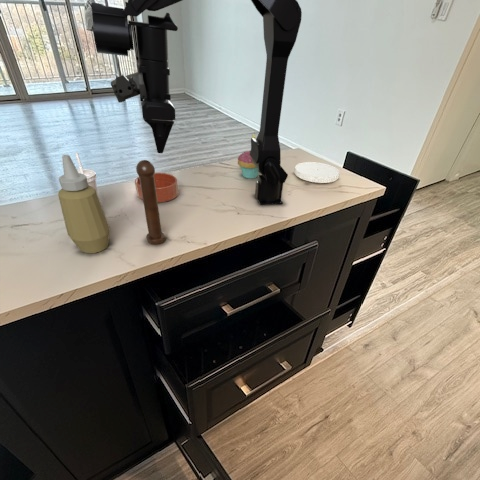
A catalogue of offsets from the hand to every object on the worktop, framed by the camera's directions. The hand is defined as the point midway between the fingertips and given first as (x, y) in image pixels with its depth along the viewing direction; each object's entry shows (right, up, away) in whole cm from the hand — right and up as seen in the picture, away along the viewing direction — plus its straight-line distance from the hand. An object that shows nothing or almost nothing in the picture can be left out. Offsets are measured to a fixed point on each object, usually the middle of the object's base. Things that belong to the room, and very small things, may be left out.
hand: (158, 146), depth 73 cm
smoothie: (-17, -14, +5) cm, 23 cm away
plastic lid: (+43, +6, +30) cm, 53 cm away
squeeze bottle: (-12, -24, -5) cm, 28 cm away
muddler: (0, -22, -2) cm, 22 cm away
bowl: (-4, -5, +15) cm, 16 cm away
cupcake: (+22, +6, +28) cm, 36 cm away
